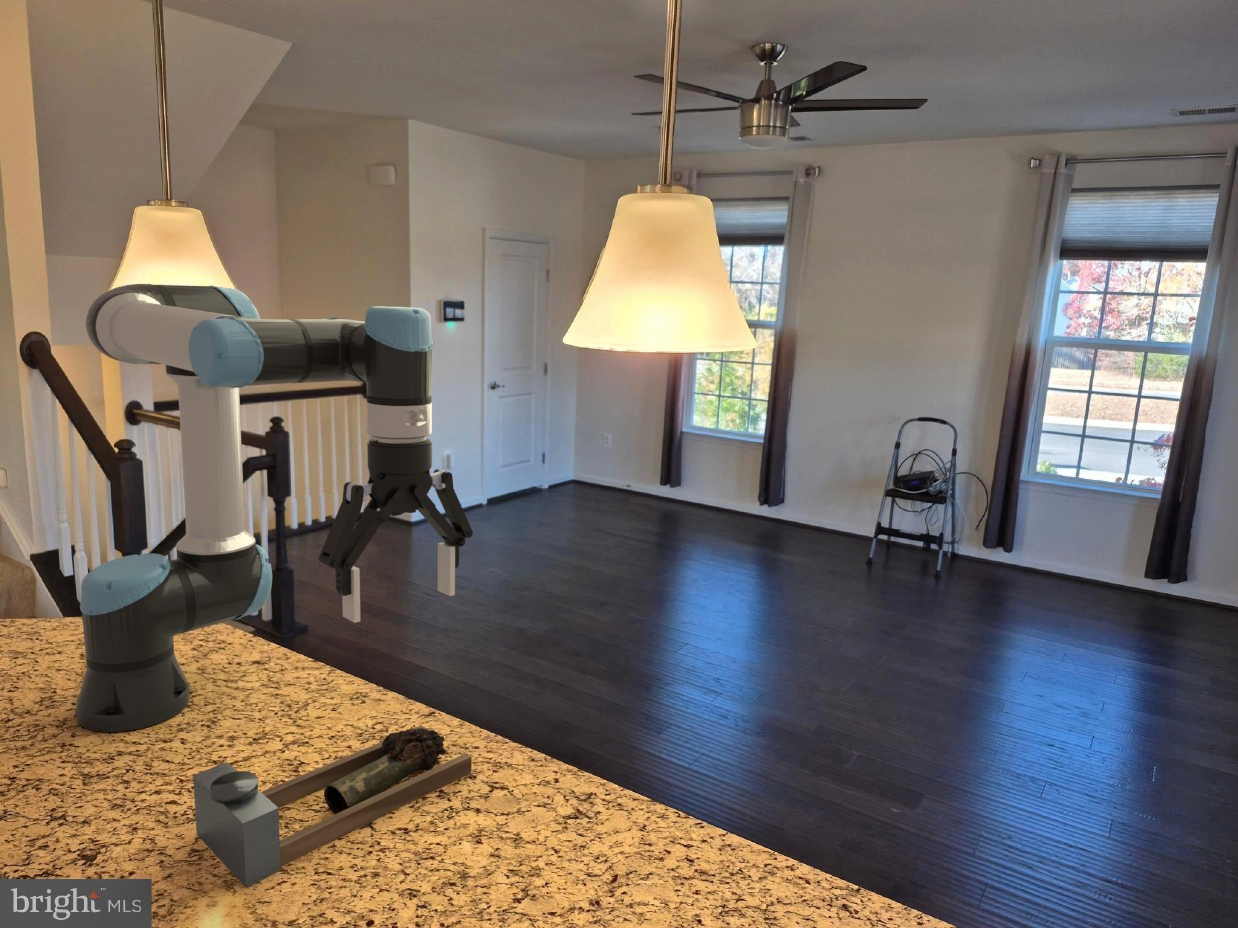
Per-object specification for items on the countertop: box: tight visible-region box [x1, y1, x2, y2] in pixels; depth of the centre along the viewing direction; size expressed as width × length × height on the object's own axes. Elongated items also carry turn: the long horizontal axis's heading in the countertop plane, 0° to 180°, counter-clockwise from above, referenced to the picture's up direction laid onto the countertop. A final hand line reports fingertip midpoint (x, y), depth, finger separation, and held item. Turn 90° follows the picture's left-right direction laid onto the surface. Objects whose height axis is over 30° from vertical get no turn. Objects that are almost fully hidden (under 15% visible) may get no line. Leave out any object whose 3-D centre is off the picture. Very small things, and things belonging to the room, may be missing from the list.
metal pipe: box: [323, 728, 447, 815], centre depth 112 cm, size 18×7×6 cm, turn 145°
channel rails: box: [260, 724, 473, 867], centre depth 109 cm, size 12×28×2 cm, turn 139°
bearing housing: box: [192, 761, 282, 889], centre depth 97 cm, size 13×5×9 cm, turn 49°
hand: (401, 605), depth 104 cm, fingers open, 13 cm apart
